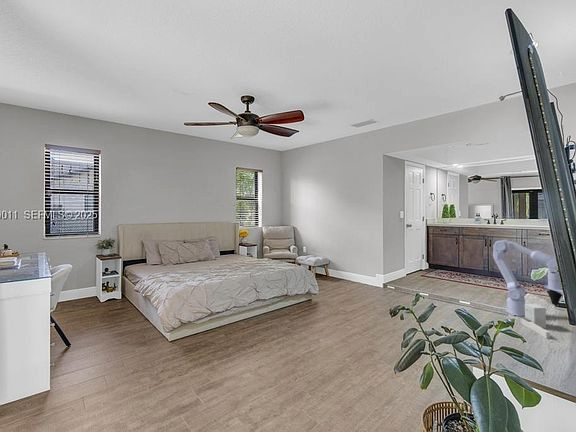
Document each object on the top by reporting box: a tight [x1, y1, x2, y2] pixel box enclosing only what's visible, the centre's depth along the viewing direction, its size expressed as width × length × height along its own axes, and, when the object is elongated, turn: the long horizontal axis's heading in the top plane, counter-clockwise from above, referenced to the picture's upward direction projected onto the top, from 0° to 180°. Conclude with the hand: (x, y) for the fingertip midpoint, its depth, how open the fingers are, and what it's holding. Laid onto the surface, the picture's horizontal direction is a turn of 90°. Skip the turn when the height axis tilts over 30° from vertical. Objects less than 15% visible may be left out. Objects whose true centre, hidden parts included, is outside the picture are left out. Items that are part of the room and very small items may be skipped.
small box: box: [524, 303, 547, 329], centre depth 160 cm, size 8×6×10 cm
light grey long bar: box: [519, 316, 551, 339], centre depth 154 cm, size 21×2×3 cm, turn 171°
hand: (555, 304), depth 165 cm, fingers closed
